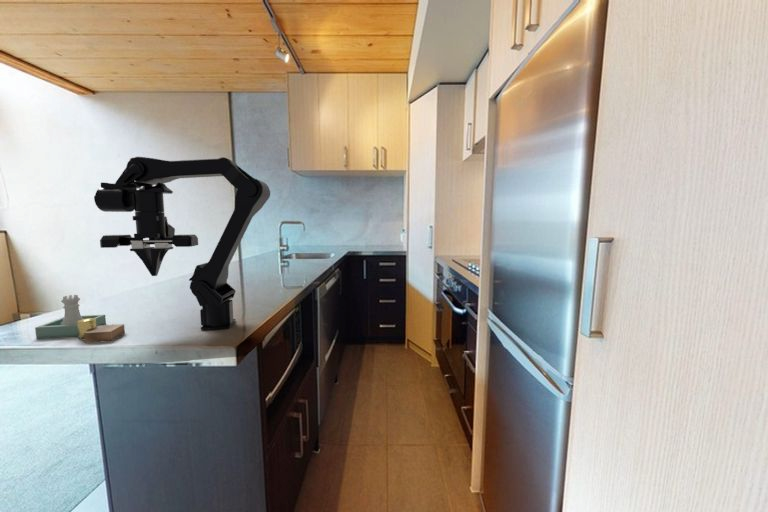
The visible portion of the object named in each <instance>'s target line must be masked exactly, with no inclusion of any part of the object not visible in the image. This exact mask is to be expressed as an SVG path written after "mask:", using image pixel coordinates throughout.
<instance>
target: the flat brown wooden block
mask: <svg viewBox="0 0 768 512" xmlns="http://www.w3.org/2000/svg"><path fill="white" fill-rule="evenodd" d="M124 333H125V334H126V331H125V324H124V323H122V324H105V325H102V326H97V327H95V328H93V329H91V330H89V331H87V332H85V333H84V337H85V340H84V343H85V342H91V343H102V342H101V341H106V342H113V341H114V339H115V340H116V339H118V338H119V336H120V337H121V336H123V335H125V334H124ZM122 334H123V335H122ZM117 337H118V338H117ZM112 340H113V341H112Z"/></svg>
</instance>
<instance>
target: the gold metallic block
mask: <svg viewBox="0 0 768 512" xmlns="http://www.w3.org/2000/svg"><path fill="white" fill-rule="evenodd" d="M77 323H78V333H79V336H78V340H80V339H85V337H84V333H85V332H87V331H89V330H91V329H93V328H95V327H96V319H95V318H88V319H82V320H79V321H77Z"/></svg>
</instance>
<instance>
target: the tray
mask: <svg viewBox="0 0 768 512" xmlns="http://www.w3.org/2000/svg"><path fill="white" fill-rule="evenodd" d="M81 317H83V319H88V318H95V319H96V327H97V326H102V325H107V320H106V314H91V315H90V314H87V315H86V314H85V315H81ZM63 319H64V316H62V317H60V318H57V319H55V320H52V321H49V322H47V323H44V324H42V325H38V326H35V327H34V329H35V338H36V339H47V338H48V339H50V338H51V339H52V338H68V337H70V338H71V337H79V333H78V325H61V323H62V322H63Z"/></svg>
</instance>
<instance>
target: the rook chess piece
mask: <svg viewBox="0 0 768 512" xmlns="http://www.w3.org/2000/svg"><path fill="white" fill-rule="evenodd" d="M80 300H81V297H79V295H78V294H73V295H72V294H70V295H69V294H68V295H65V296H63V297H62V299H61V302H62V304H63V305H64V306H63V307H62V308H63V309H64V316H63V317H64V319H63V322H62V323H61V325H78V323H77V321H79V320H82V319H83V317H81V316H82V315H81V312H80V308H79V307H80V304H79V302H80Z"/></svg>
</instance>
